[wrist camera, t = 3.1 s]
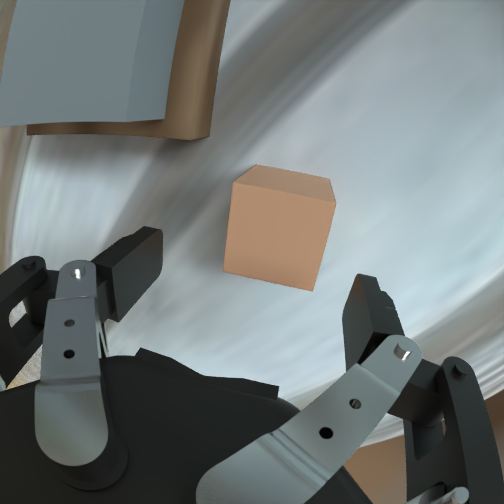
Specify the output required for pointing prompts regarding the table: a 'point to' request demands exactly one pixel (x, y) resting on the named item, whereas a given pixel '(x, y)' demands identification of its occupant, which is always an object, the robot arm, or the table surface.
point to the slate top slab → (88, 61)
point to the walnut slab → (174, 82)
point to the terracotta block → (278, 226)
